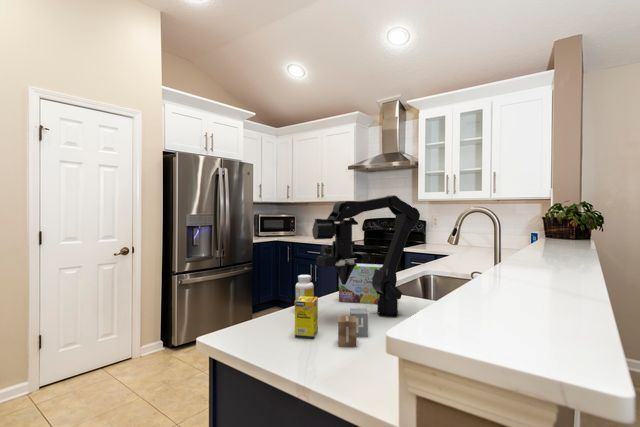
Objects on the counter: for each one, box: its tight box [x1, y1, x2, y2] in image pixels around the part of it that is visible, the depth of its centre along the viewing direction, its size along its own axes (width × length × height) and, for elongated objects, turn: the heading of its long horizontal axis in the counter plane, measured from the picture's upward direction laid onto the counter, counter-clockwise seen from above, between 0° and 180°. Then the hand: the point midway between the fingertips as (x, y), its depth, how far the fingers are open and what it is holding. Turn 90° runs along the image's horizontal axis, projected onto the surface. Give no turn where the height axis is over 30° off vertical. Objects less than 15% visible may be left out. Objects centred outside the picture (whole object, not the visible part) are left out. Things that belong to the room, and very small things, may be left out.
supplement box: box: [294, 296, 319, 340], centre depth 104 cm, size 6×6×11 cm
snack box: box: [338, 262, 383, 305], centre depth 138 cm, size 21×6×15 cm, turn 77°
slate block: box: [349, 307, 369, 338], centre depth 105 cm, size 5×5×7 cm
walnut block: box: [337, 315, 357, 348], centre depth 98 cm, size 5×5×7 cm
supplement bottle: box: [295, 274, 315, 301], centre depth 127 cm, size 7×7×13 cm
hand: (343, 284), depth 117 cm, fingers closed
